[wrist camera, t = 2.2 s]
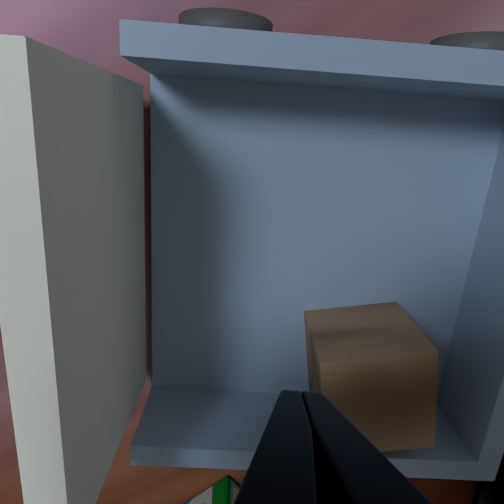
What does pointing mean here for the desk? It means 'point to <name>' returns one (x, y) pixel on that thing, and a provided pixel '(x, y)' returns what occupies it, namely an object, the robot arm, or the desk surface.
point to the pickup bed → (318, 225)
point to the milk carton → (218, 493)
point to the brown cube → (375, 372)
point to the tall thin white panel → (70, 265)
